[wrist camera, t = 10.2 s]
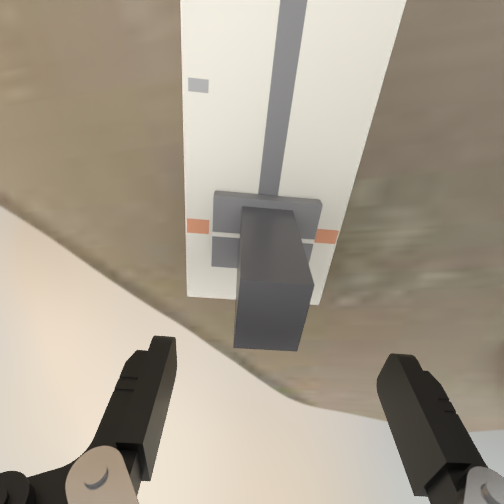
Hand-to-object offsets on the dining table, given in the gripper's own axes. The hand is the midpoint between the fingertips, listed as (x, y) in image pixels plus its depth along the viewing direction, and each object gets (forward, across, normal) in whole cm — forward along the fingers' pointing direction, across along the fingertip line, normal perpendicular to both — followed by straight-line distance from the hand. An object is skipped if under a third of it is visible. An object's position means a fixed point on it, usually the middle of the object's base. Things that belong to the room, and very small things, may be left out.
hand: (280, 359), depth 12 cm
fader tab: (+10, 0, 0) cm, 10 cm away
